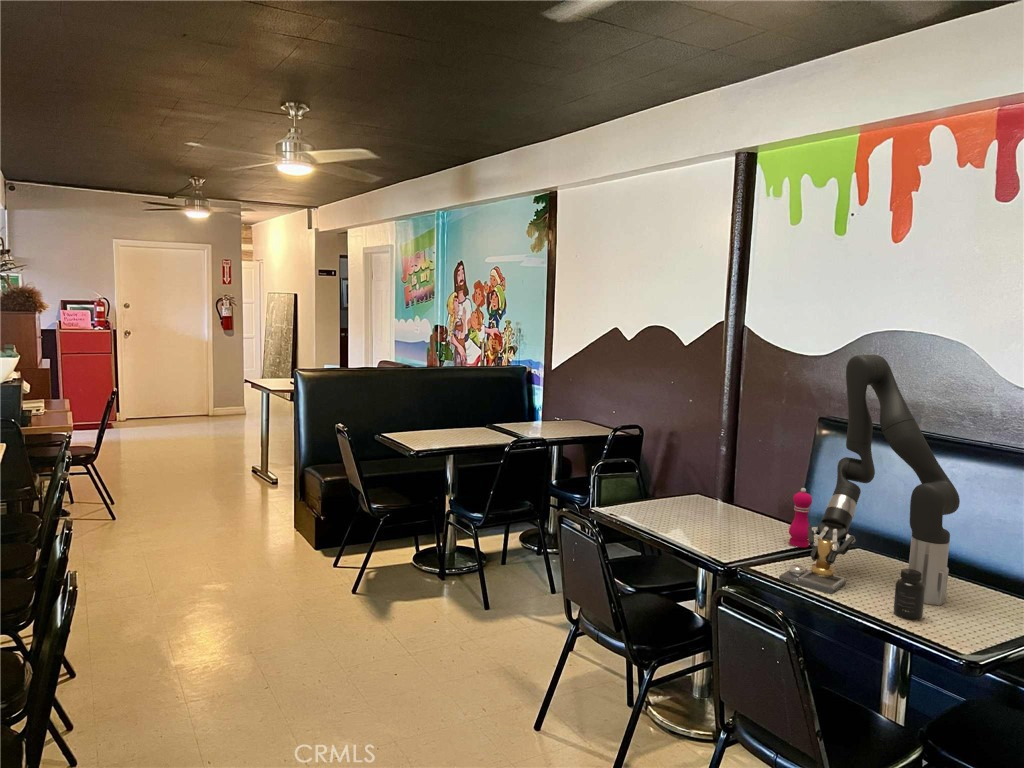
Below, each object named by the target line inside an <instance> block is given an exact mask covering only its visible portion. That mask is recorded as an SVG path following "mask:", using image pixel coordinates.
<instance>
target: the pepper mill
mask: <svg viewBox="0 0 1024 768" xmlns="http://www.w3.org/2000/svg"><path fill="white" fill-rule="evenodd" d="M792 502H793V503H794V506H793V507H794V508H793V509H794V511H795V512H794V513H795V514H794V518H793V520H792V522H791V524H790V526H789V528H788V534H789V536H790V538H789V542H788V543H789V545H790V546H792V547H796V546H797V548H808V547H810V544H809V542H808V526H810V523H809V519H808V516H809V512H810V508H811V507H810V506H811V505H812V504H813V498H812V495H810V494H809V493H807V489H806V488H805V487H801V488H800V491H798V492H797V493H794V495H793V499H792Z"/></svg>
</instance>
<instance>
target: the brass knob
mask: <svg viewBox="0 0 1024 768" xmlns="http://www.w3.org/2000/svg"><path fill="white" fill-rule="evenodd" d="M832 546H833V544H832V541H831V540H828V539H818V548H817V559H816V561H815V562H816V563H813V564H811V569H812V570H811V569H810V570H811V573H812V574H814V575H816V576H820V577H826V578H829V577H833V576H834V575H835V568H834V567H833V566H832V565H828V563H827V559H828V557H829V554H830V551H832Z"/></svg>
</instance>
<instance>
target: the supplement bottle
mask: <svg viewBox="0 0 1024 768" xmlns="http://www.w3.org/2000/svg"><path fill="white" fill-rule="evenodd" d="M899 577H900V578H898V579H897V580H896V581H895V586H894V599H893V601H894V602H893V613H894V615H896V616H897V617H899V618H902V619H905V620H911V621H919V620H921V619H922V618H923V617H924V616H923V615H924V604H925V603H924V595H925V586H924V584H923V583H922V582H920V581H921V580H922V578H921V577H922V573H921V572H919V571H917V570H913V569H908V568H903V569H902V568H901V570H900V576H899Z"/></svg>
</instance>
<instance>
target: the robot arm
mask: <svg viewBox="0 0 1024 768" xmlns="http://www.w3.org/2000/svg"><path fill="white" fill-rule="evenodd" d="M845 369H846V370H845V381H846V383H845V384H846V393H847V395H846V398H847V407H848V408H847V410H848V411H847V414H848V417H847V418H848V421H847V430H846V431H847V432H846V441H845V448H846V449H847V450H848V451H850V452H853V453H855V454H857V455H858V456H859V457H860V459H859V458H854V457H848V456H844V457H842V458H841V459H840V460H839V461H838V463H837V469H836V470H837V475H836V484H835V485H836V486H835V488H834V491H833V493H832V496H831V498H830V500H829V501H828V503H827V506H826V509H825V512H824V514H823V516H822V519H821V521H820V523H819V525H818V526H812V525H809V526H808V542H809V547H811V548H812V549H811V552H810V558H811V559H812V561H814V562H816V559H817V548H818V539H828V540H831V541H832V551H830V554H829V557H828V559H827V563H828V565H830V566H832V564H835V562H836V558H837V556H838V555H841V556H845V554H847V552H848V551H849V550H850V549H851V548H852V547H853V546H854V545H855V543H856V538H855V535H850V534H849V532H848V531H849V529H850V526H851V524H852V520H853V518H854V516H855V512H856V507H857V504H858V502H859V498H860V495H861V491H862V490H861V488H860V486H858V484H856V483H862V484H869V483H871V482H872V481H873V480H874V478H875V474H876V470H875V464H874V460H873V459H874V458H873V453H872V440H873V431H874V430H873V429H874V428H873V427H874V426H873V425H874V424H873V420H872V417H871V414H870V411H869V407H868V405H867V390H868V386H871V389H873V391H874V393H875V395H876V398H877V399H878V403H879V424H880V429H881V431H882V433H883V435H884V437H885V440H886V442H887V443H888V445H889V447H890V448H891V450H893V452H894V453H895V454H896V455H897V456H898V457H899V458H900V459H901V460H902V461H903V462H904V463H906V464H907V465H908V466H909V467H910V468H911V469H912V470H913V472H914V473H915V475H916V476H917V478H918V479H919V481H920V484H917V485H916V486H915V487H914V489H913V490H912V493H911V494H910V495H911V496H910V503H909V504H910V505H909V527H910V530H911V539H910V549H909V551H910V552H909V560H908V567H907V569H913V570H917V571H919V572H921V573H922V577H921V578H922V580H921V581H920V582H922V583H923V584H924V586H925V595H924V604H926V605H936V606H938V607H939V606H942V604H944V603H945V601H946V599H947V591H948V590H947V589H948V580H949V579H948V578H949V572H950V571H949V570H950V569H949V567H948V559H949V549H950V540H951V533H950V531H949V530H947V529H946V528H944V527H943V517H944V516H945V515H946V516H947V515H951V514H953V513H955V512H957V511H958V509H959V507H960V504H961V503H960V499H961V498H960V495H959V493H958V490H957V489H956V487H955V486H954V484H953V482H952V481H951V479H950V478H949V477H948V475H947V474H946V472H945V470H943V468H942V466H941V465H940V463H939V462H938V460H937V458H936V456H935V455H934V452H933V451H932V449H931V447H930V446H929V443H928V442H927V440H926V438H925V437H924V434H923V432H922V430H921V428H920V426H919V424H918V423H917V421H916V419H915V417H914V415H913V414H912V413H911V411H910V409H909V406H908V405H907V403H906V401H905V398H904V397H903V395H902V393H901V390H900V389H899V386H898V383H897V381H896V378H895V376H894V373H893V371H892V369H891V367H890V364H889V363H888V361H887V360H886V359H885V358H884V357H883V356H881V355H879V354H857V355H854V356H852V357H851V358H850V359H849V360H848V361H847V363H846V368H845ZM855 482H856V483H855ZM817 532H818V533H819V535H818V536H817V537H816V540H815V536H816V535H817ZM844 540H845V541H844ZM842 541H844V542H843V543H842V544H841V545H840V543H841V542H842Z"/></svg>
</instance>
